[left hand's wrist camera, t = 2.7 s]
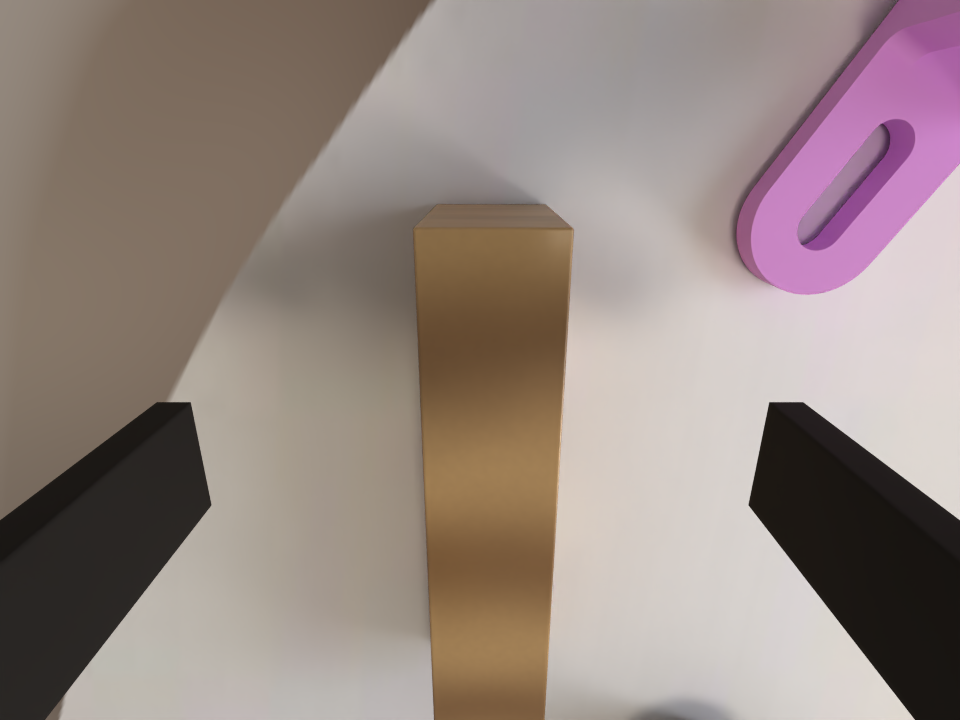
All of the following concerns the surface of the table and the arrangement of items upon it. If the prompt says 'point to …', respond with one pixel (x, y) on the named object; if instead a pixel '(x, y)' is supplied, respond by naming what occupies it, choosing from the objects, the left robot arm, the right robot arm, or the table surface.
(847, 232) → the bracket
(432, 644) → the bar
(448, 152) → the table surface
